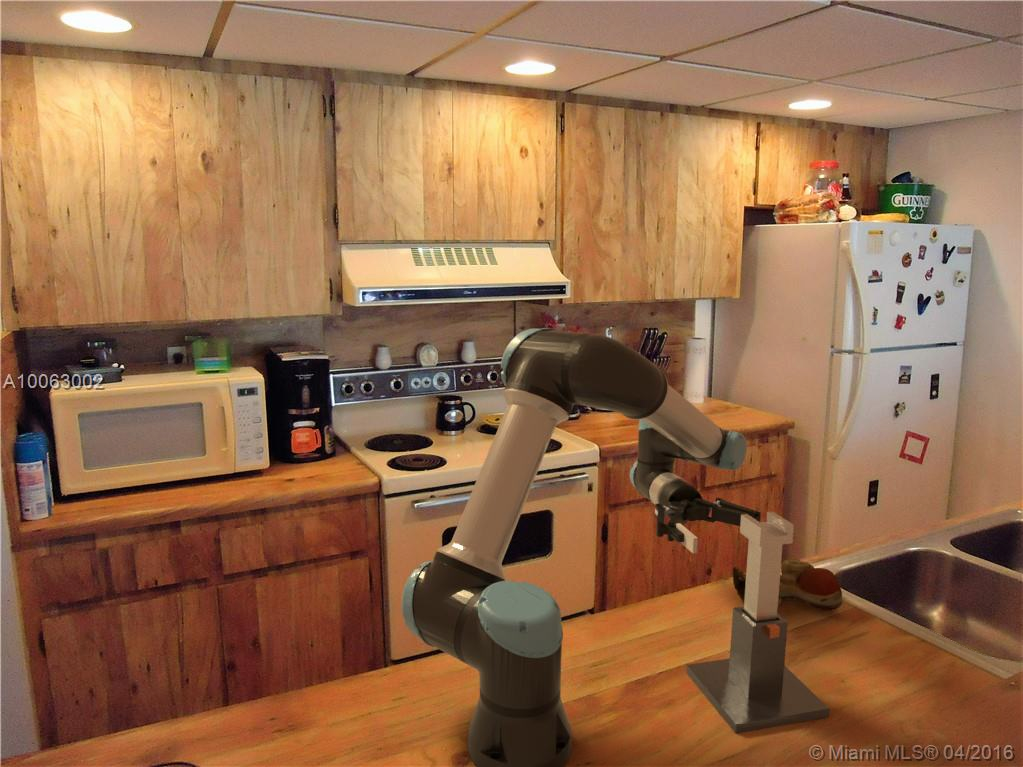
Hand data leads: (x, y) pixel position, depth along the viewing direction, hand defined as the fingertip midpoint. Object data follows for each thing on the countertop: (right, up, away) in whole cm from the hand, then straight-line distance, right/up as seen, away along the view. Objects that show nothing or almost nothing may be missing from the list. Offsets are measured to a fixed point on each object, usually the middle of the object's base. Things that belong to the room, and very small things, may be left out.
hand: (732, 541), depth 126 cm
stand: (+2, -24, -5) cm, 24 cm away
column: (+2, -22, -5) cm, 22 cm away
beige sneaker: (+18, -18, +24) cm, 35 cm away
